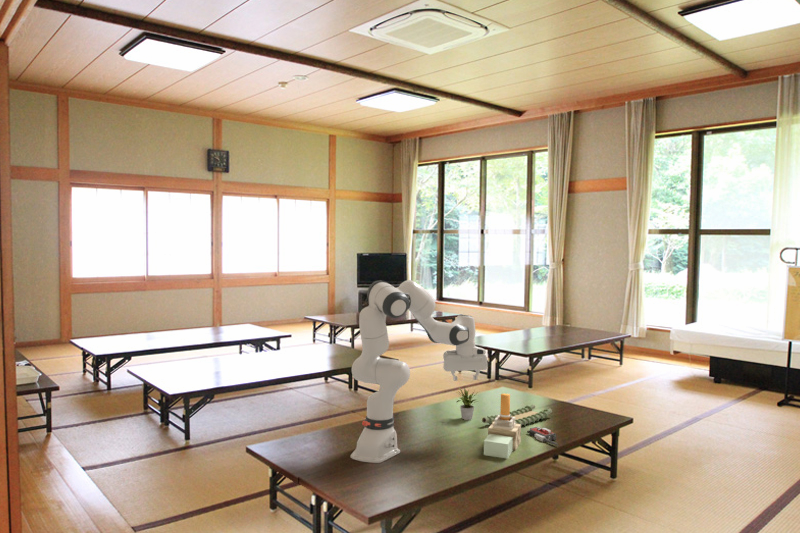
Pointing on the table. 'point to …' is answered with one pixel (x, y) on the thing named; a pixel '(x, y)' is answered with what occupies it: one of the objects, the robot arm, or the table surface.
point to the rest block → (498, 446)
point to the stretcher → (522, 415)
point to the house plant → (466, 405)
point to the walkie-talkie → (543, 434)
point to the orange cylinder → (505, 407)
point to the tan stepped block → (506, 429)
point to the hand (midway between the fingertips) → (465, 380)
